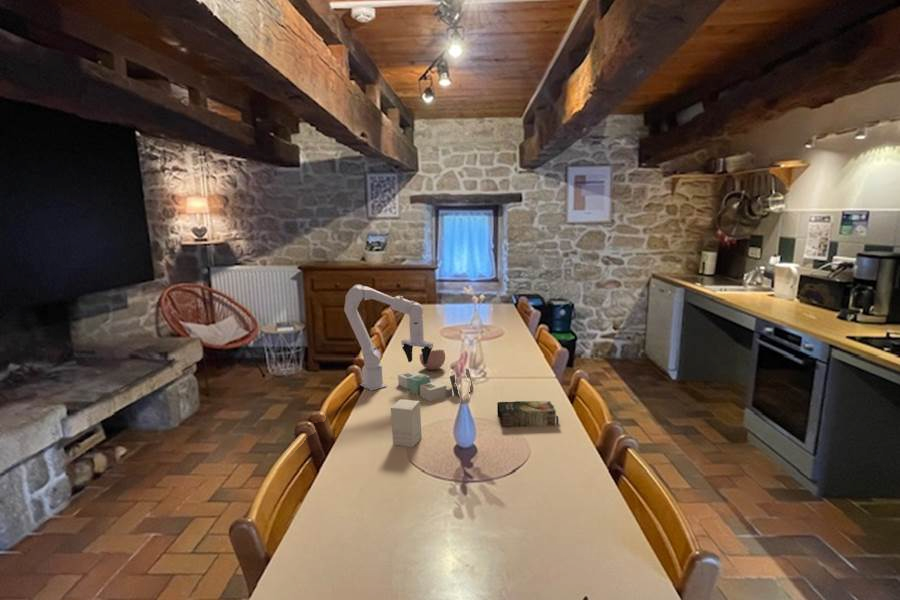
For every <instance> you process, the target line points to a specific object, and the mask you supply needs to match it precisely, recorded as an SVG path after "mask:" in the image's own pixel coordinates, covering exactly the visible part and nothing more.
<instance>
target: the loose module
mask: <svg viewBox="0 0 900 600" xmlns="http://www.w3.org/2000/svg"><path fill="white" fill-rule="evenodd" d="M430 378H431V376H430V375H427V374H424V373H420V375H417V376H414V377H411V378H409V385H410V388H409V392H410V393H413V394H415V395H420V385H423V384H427V383H430Z"/></svg>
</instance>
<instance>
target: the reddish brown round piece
mask: <svg viewBox="0 0 900 600" xmlns="http://www.w3.org/2000/svg"><path fill="white" fill-rule="evenodd" d="M419 360H420V364H421V365H422V366H423V367H424V368H425V369H427V370H431V371H435V370H438V369H440V368H441V367H442V366H443V365H444V363H445V361H446V353H445V350H443V349H434V350H433V349H432V350H431V352H430V354H429V357H428V362H427V364H423V354H422V353H420V354H419Z"/></svg>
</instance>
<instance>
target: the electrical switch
mask: <svg viewBox="0 0 900 600" xmlns="http://www.w3.org/2000/svg"><path fill="white" fill-rule="evenodd" d="M465 369H466V375H467V377H468V378H470V380H471V386H470V392H469V393H471V392H473V391H474V389H475V388H474V385H473V381H472V375H471V374H470V370H469V368H465ZM449 379H450V383H451V388H452V393H453V395H454V396H455V395H457V396H458V397H459V394H458V389H457V386H456V384H455V373H454V374H452V375H450V376H449Z"/></svg>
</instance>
